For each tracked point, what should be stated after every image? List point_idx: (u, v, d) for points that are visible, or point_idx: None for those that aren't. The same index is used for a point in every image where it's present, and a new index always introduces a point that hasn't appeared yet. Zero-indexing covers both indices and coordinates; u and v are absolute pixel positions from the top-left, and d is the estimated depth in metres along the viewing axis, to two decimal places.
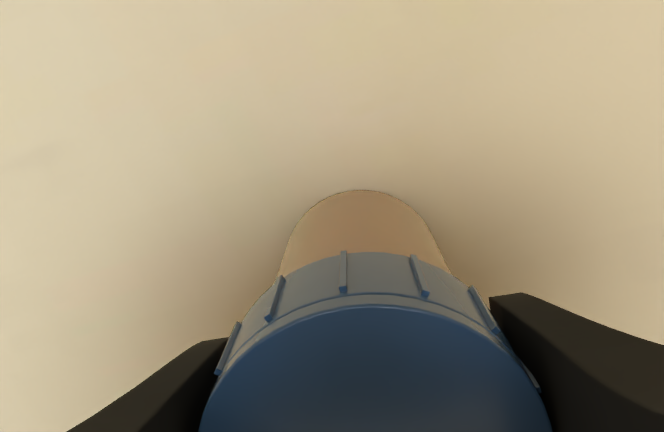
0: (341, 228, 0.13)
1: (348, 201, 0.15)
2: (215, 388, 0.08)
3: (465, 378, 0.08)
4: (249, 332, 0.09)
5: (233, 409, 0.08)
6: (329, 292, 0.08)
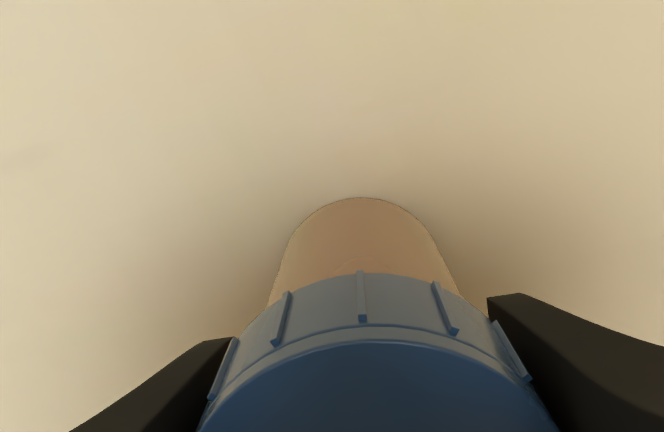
0: (327, 245, 0.12)
1: (336, 213, 0.14)
2: None
3: (359, 389, 0.07)
4: None
5: None
6: (208, 406, 0.08)
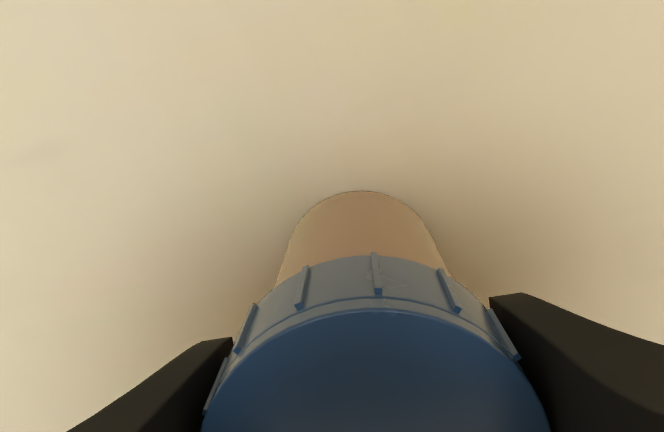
0: (317, 237, 0.13)
1: (327, 208, 0.15)
2: None
3: (264, 402, 0.08)
4: None
5: None
6: None
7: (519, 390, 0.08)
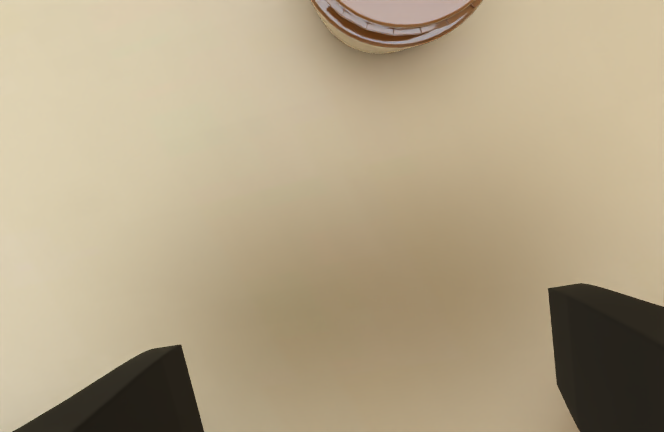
0: None
1: None
2: None
3: None
4: None
5: None
6: None
7: None
